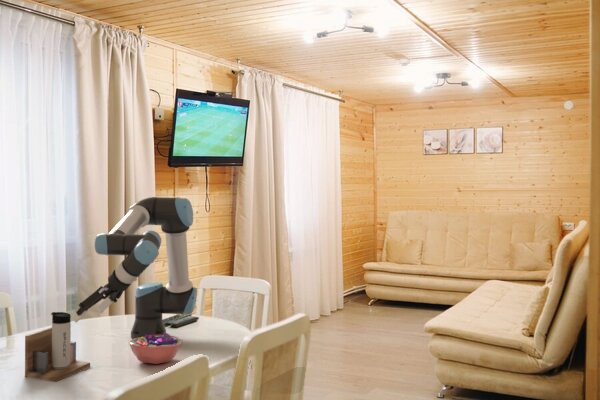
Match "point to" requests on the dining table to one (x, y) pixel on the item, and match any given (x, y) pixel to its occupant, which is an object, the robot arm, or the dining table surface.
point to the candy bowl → (155, 348)
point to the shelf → (44, 343)
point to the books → (72, 351)
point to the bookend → (39, 362)
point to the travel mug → (61, 340)
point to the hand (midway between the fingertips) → (87, 314)
